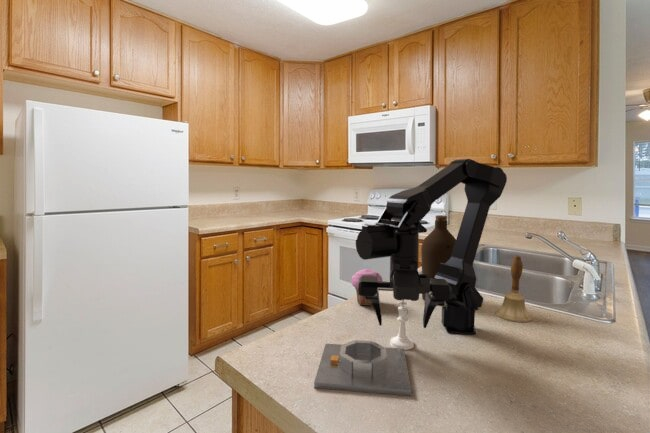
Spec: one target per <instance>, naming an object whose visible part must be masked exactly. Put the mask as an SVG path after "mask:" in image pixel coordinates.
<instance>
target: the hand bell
mask: <svg viewBox="0 0 650 433" xmlns="http://www.w3.org/2000/svg"><path fill="white" fill-rule="evenodd" d="M510 273H511V278H512V282H511V289H510V290H511V291H510V292H507V293H506V294H504V299H503V302H502V304H501V306H500V307H499V308H497V309H496V310H495V315H497V316H498V317H499V318H501V319H504V320H506V321H509V322H517V323H528V322H531V321H532V320H533V318H532V316H531V314H530V313H529V312H528V310H527V306H526V303H525V302H526V301H525V297H524V295H521V294H520V293H519V292H520V279H521V277H522V274H523V262H522V259H521V255H514V258H513V260H512V262H511V266H510Z"/></svg>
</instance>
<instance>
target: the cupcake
mask: <svg viewBox="0 0 650 433" xmlns="http://www.w3.org/2000/svg"><path fill="white" fill-rule="evenodd" d="M361 276H377V281H383V276H382V275H381V274H380V273H379V272H377V271H376V270H373V269H370V268H369V269H367V268H366V269H365V268H362V269H360V270H357V272H355V273H354V274H353V275H352V277H351V282H350V283H351V286H353V287H354V289H355V292H356V299H357V300H356V301H357V304H358V305H359V306H360V305H361V306H373V305H372V303H371V301H370V300H367V299H365V296H360V295H358V285H359V278H360V277H361Z"/></svg>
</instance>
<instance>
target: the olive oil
mask: <svg viewBox="0 0 650 433" xmlns="http://www.w3.org/2000/svg"><path fill="white" fill-rule="evenodd" d="M447 219H448V216H447V215H441V214H439V215H435V220H434V229H433V230H432V231H431V232H430V233H428V234H427V236H426V237H425V238H424V239H423V241H422V244H421V247H420V248H421V249H420V252H421V254H420V256H421V257H420V258H421V259H420V260H421V274H429V276H430V278H432V279H434V277H435V276H436V273H437V270H438V265H439V264H440V263H444V264H445V263H446V262H447V261H448V260H449V259H450V258H451V255H452V252H453V249H454V245H455V242H456V239H457V238H455V236H454V235H453V234H452V233H451V232H450V230H448V220H447ZM425 296H426V293H425V294H421V299H422V300H423V301H424V302H425ZM444 302H445V301H444ZM438 305H439V306H444V303H439V304H438ZM438 305H437V306H438Z"/></svg>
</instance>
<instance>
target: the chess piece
mask: <svg viewBox="0 0 650 433" xmlns="http://www.w3.org/2000/svg"><path fill="white" fill-rule="evenodd" d="M398 305H401V306H398V307H397V311H398V315H399V316H398V317H397V321H398V322H399V327H398V334H397V335H395V336H392V337H391V338H390V342H389V344H390V346H391V347H392V348H401V349H404V351H407V350H411V349H413V348H414V346H415V345H414V340H412V338H410V337H408V336H407V333H406V324H405V323H406V322H407V321H408V320H409V319H408V317H406V315H407V312H408V307H406V305H408V302H407V301H405V300H401V301H398Z"/></svg>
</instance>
